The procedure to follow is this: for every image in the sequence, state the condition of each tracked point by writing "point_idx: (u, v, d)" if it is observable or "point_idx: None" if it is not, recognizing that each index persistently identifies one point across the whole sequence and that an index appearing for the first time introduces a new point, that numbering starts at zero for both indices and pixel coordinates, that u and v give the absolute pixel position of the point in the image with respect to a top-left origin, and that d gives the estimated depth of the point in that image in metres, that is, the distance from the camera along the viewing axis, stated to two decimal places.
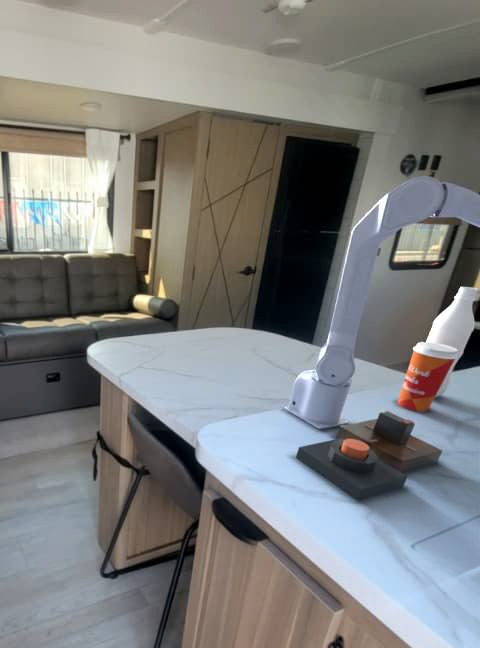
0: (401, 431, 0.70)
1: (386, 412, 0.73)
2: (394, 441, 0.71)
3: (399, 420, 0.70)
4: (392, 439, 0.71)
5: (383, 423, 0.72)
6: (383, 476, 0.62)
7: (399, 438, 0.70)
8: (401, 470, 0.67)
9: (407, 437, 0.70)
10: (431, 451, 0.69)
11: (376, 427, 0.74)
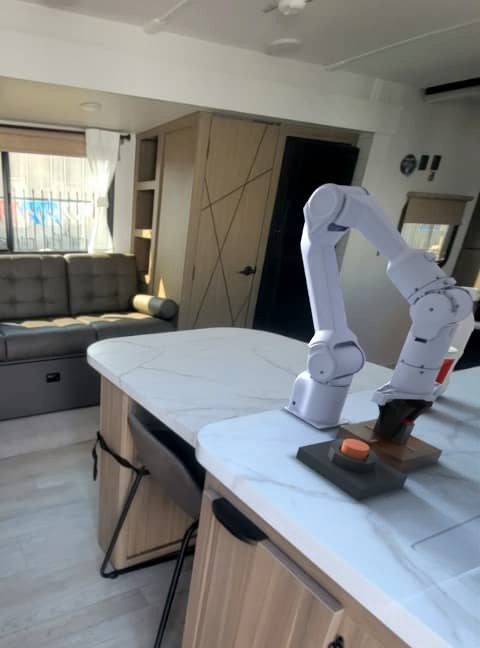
0: (401, 431, 0.70)
1: None
2: (394, 441, 0.71)
3: None
4: (392, 439, 0.71)
5: None
6: (383, 476, 0.62)
7: (399, 438, 0.70)
8: (401, 470, 0.67)
9: (407, 437, 0.70)
10: (431, 451, 0.69)
11: (376, 427, 0.74)
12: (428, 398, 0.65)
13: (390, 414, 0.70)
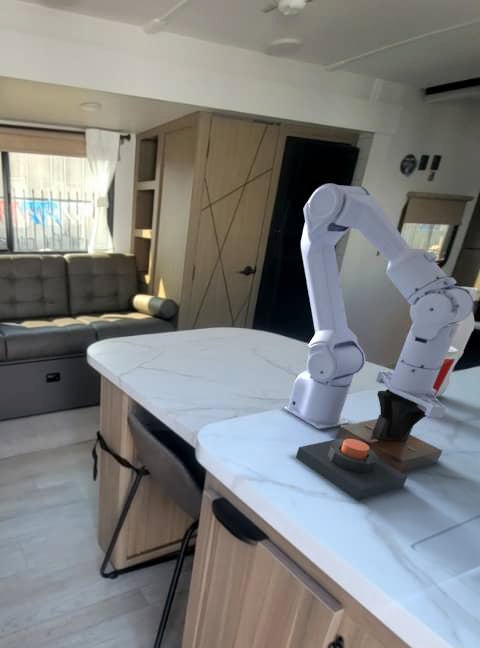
0: None
1: (384, 416, 0.71)
2: (402, 439, 0.72)
3: None
4: None
5: None
6: (383, 476, 0.62)
7: (407, 435, 0.71)
8: (401, 470, 0.67)
9: None
10: (431, 451, 0.69)
11: (382, 434, 0.71)
12: (435, 391, 0.67)
13: (404, 418, 0.69)
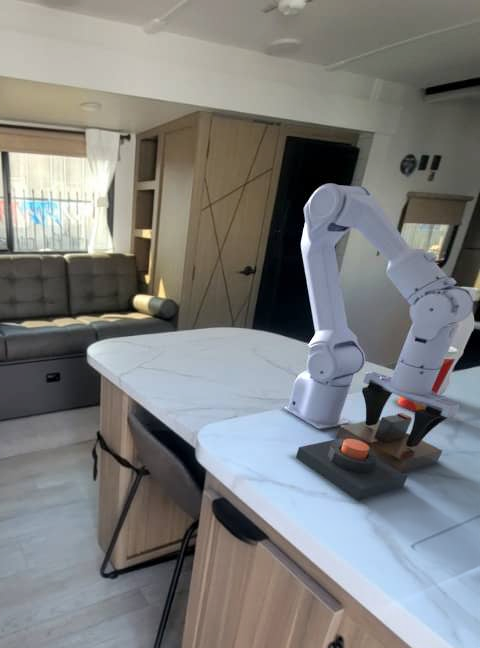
0: (407, 426, 0.71)
1: (388, 419, 0.70)
2: (401, 437, 0.72)
3: (403, 418, 0.71)
4: (399, 437, 0.72)
5: (394, 429, 0.70)
6: (383, 476, 0.62)
7: (405, 432, 0.72)
8: (401, 470, 0.67)
9: None
10: (431, 451, 0.69)
11: (388, 436, 0.71)
12: None
13: None
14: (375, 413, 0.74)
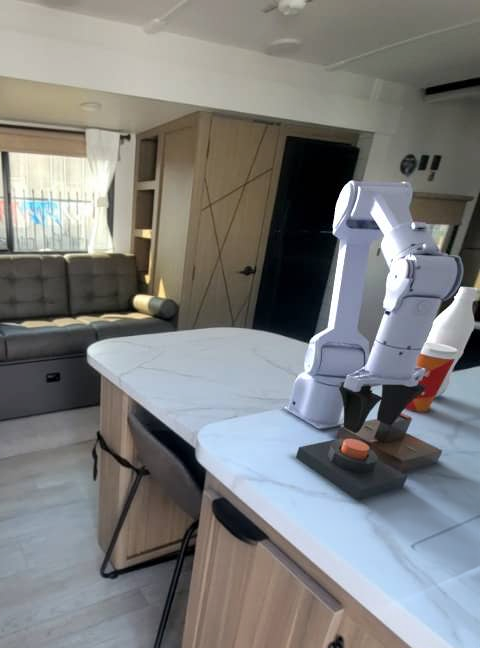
0: (407, 426, 0.71)
1: None
2: (401, 437, 0.72)
3: (403, 418, 0.71)
4: (399, 437, 0.72)
5: (394, 429, 0.70)
6: (383, 476, 0.62)
7: (405, 432, 0.72)
8: (401, 470, 0.67)
9: None
10: (431, 451, 0.69)
11: (388, 436, 0.71)
12: (408, 383, 0.57)
13: (355, 405, 0.61)
14: (387, 408, 0.64)
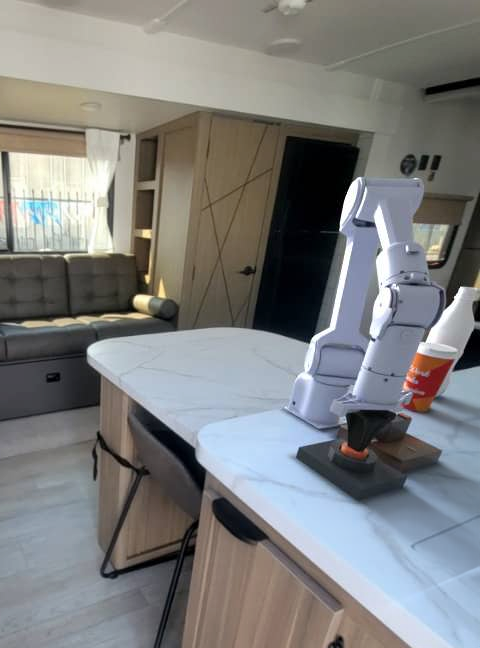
0: (407, 426, 0.71)
1: None
2: (401, 437, 0.72)
3: (403, 418, 0.71)
4: (399, 437, 0.72)
5: (394, 429, 0.70)
6: (383, 476, 0.62)
7: (405, 432, 0.72)
8: (401, 470, 0.67)
9: None
10: (431, 451, 0.69)
11: (388, 436, 0.71)
12: (393, 409, 0.58)
13: (358, 425, 0.63)
14: None
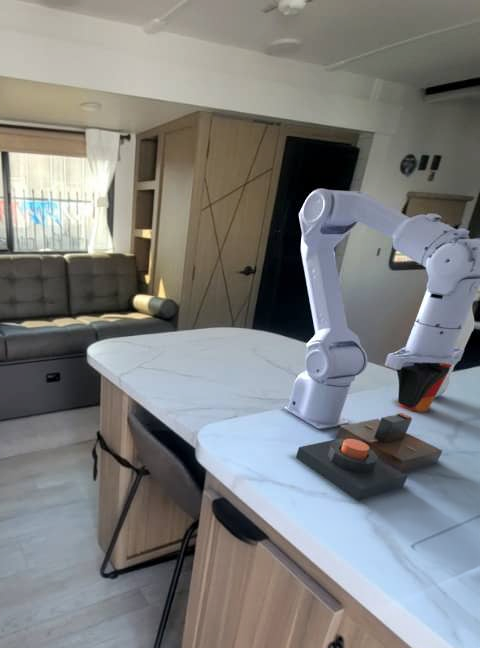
0: (407, 426, 0.71)
1: (388, 419, 0.70)
2: (401, 437, 0.72)
3: (403, 418, 0.71)
4: (399, 437, 0.72)
5: (394, 429, 0.70)
6: (383, 476, 0.62)
7: (405, 432, 0.72)
8: (401, 470, 0.67)
9: None
10: (431, 451, 0.69)
11: (388, 436, 0.71)
12: (449, 361, 0.60)
13: (410, 381, 0.65)
14: None
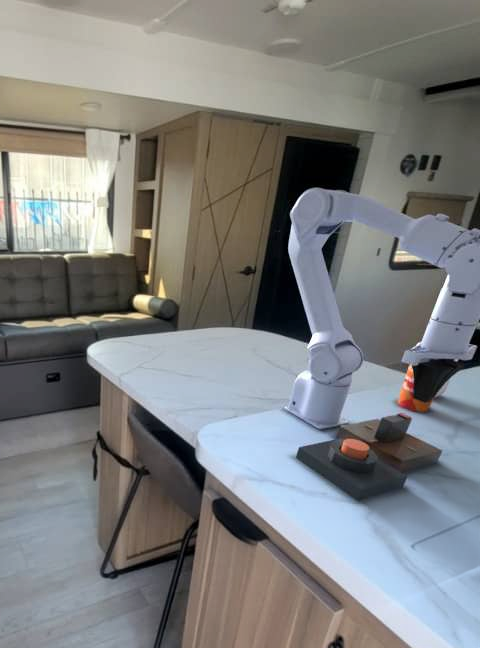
0: (407, 426, 0.71)
1: (388, 419, 0.70)
2: (401, 437, 0.72)
3: (403, 418, 0.71)
4: (399, 437, 0.72)
5: (394, 429, 0.70)
6: (383, 476, 0.62)
7: (405, 432, 0.72)
8: (401, 470, 0.67)
9: None
10: (431, 451, 0.69)
11: (388, 436, 0.71)
12: (464, 357, 0.62)
13: (426, 377, 0.67)
14: None
